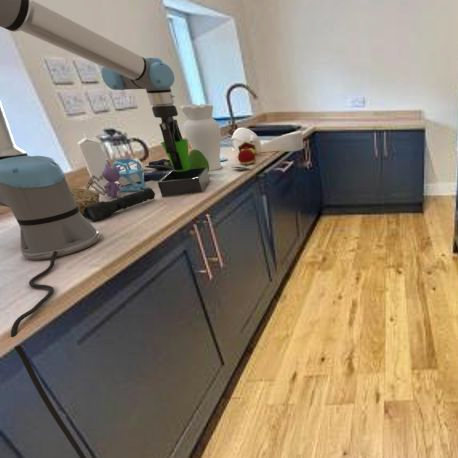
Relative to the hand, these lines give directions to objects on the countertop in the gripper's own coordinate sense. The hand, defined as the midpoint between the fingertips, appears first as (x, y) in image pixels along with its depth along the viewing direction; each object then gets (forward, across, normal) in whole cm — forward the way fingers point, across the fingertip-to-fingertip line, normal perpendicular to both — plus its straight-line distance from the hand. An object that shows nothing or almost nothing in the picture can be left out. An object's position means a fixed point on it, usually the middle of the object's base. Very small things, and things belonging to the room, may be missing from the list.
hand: (181, 166), depth 136 cm
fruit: (+9, +17, -2) cm, 19 cm away
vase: (+9, +31, -4) cm, 33 cm away
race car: (+6, +28, +15) cm, 32 cm away
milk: (+9, +11, +32) cm, 35 cm away
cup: (+2, 0, 0) cm, 2 cm away
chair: (+9, +7, +20) cm, 23 cm away
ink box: (+6, +14, +24) cm, 28 cm away
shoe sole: (+11, +63, -31) cm, 71 cm away
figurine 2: (+4, +45, -20) cm, 49 cm away
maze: (+3, -2, +28) cm, 28 cm away
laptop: (+9, +22, -18) cm, 29 cm away
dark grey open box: (+9, 0, 0) cm, 9 cm away
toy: (+8, +54, -6) cm, 55 cm away
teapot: (-1, +57, -23) cm, 62 cm away
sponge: (+8, -16, +28) cm, 34 cm away
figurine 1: (+8, -3, +24) cm, 25 cm away
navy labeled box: (+7, +29, +16) cm, 34 cm away
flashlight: (+9, -20, +15) cm, 27 cm away
